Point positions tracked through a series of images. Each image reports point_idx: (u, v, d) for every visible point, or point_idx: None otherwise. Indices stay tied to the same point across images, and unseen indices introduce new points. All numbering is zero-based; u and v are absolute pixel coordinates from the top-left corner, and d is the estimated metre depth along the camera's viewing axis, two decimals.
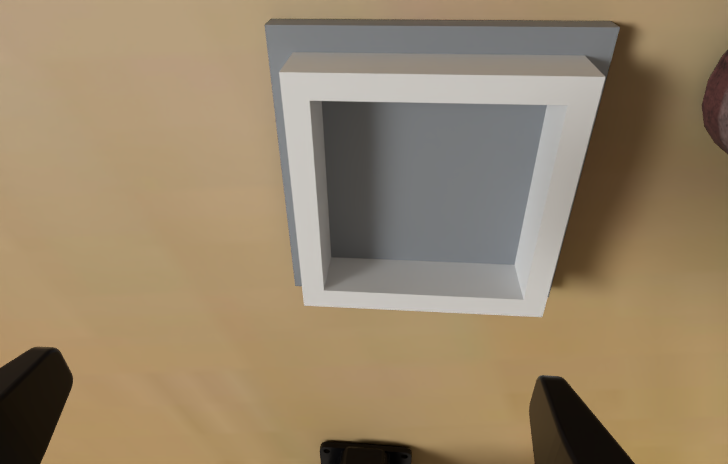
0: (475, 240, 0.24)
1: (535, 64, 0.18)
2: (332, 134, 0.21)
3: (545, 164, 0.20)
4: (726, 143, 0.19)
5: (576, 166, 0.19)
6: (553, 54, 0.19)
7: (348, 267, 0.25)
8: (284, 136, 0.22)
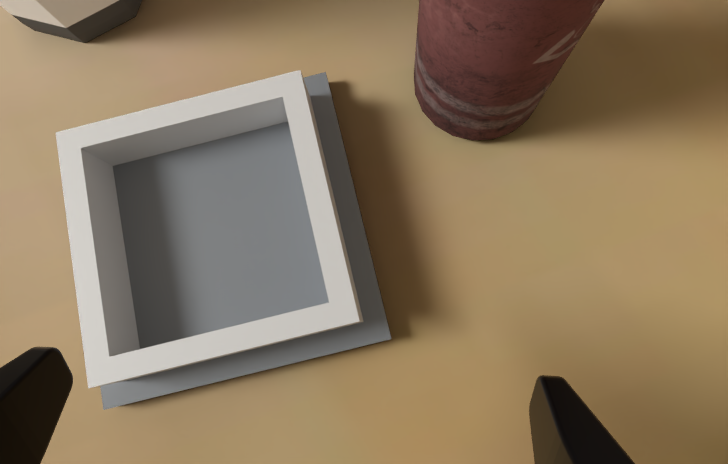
0: (285, 285, 0.23)
1: None
2: (127, 211, 0.24)
3: None
4: (437, 108, 0.22)
5: (312, 141, 0.21)
6: None
7: None
8: None
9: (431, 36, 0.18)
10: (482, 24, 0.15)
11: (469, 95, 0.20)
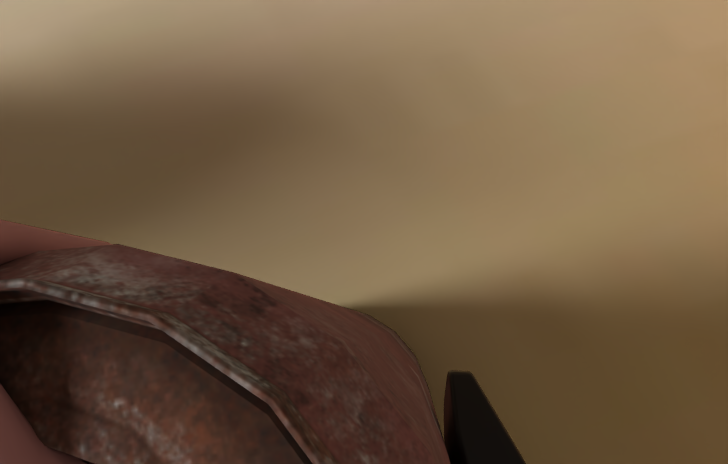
0: None
1: None
2: None
3: None
4: None
5: None
6: None
7: None
8: None
9: None
10: None
11: None
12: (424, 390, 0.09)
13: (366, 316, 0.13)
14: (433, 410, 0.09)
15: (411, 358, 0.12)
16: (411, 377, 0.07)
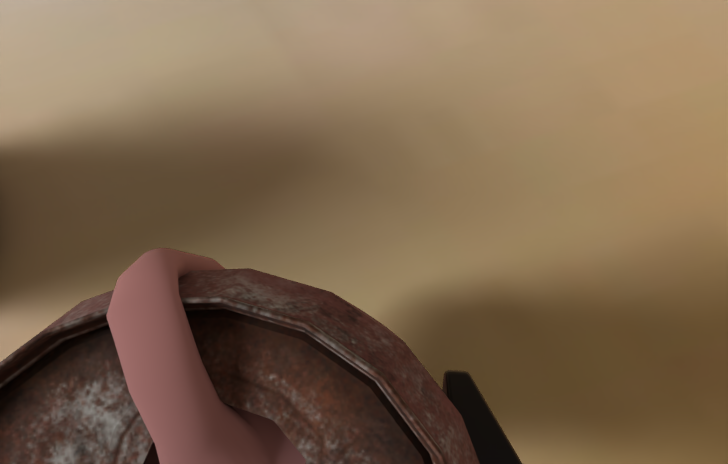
0: None
1: None
2: None
3: None
4: None
5: None
6: None
7: None
8: None
9: None
10: None
11: None
12: None
13: None
14: None
15: None
16: None
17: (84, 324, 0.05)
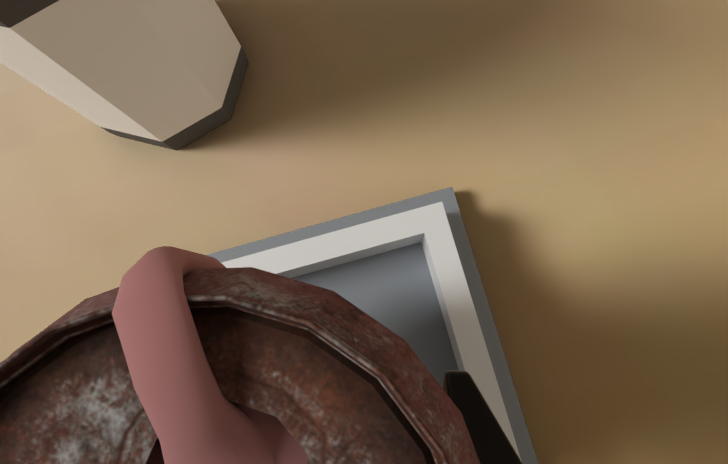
0: None
1: None
2: None
3: (442, 304, 0.20)
4: None
5: (462, 285, 0.19)
6: None
7: None
8: None
9: None
10: None
11: None
12: None
13: None
14: None
15: None
16: None
17: (89, 321, 0.05)
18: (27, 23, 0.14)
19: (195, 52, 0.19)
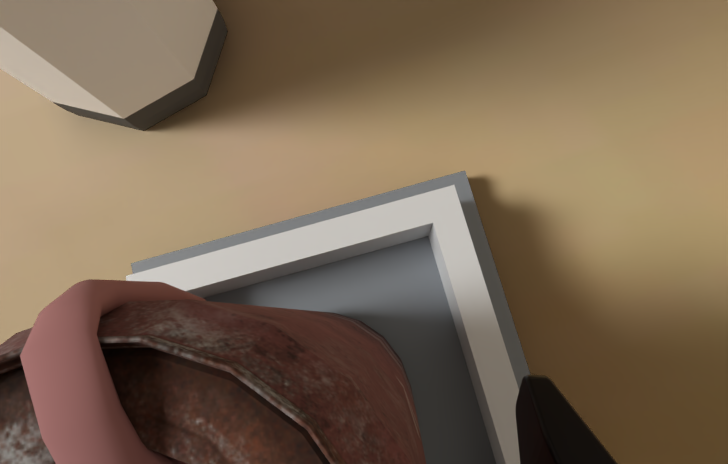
0: None
1: None
2: None
3: (455, 310, 0.16)
4: None
5: (480, 286, 0.15)
6: None
7: None
8: None
9: None
10: None
11: None
12: (407, 397, 0.10)
13: (359, 325, 0.15)
14: (414, 414, 0.11)
15: (397, 365, 0.13)
16: (397, 390, 0.09)
17: (1, 364, 0.05)
18: None
19: (155, 5, 0.16)
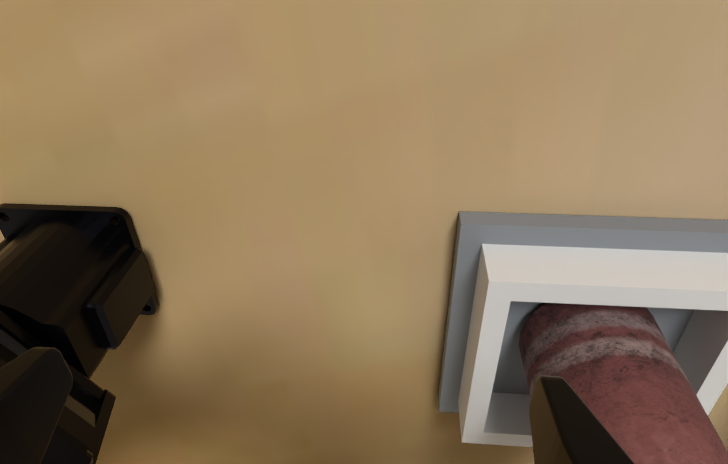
0: (509, 367, 0.26)
1: None
2: None
3: None
4: (574, 324, 0.21)
5: None
6: None
7: None
8: (665, 236, 0.21)
9: (637, 414, 0.17)
10: None
11: None
12: None
13: None
14: None
15: None
16: None
17: None
18: None
19: None
